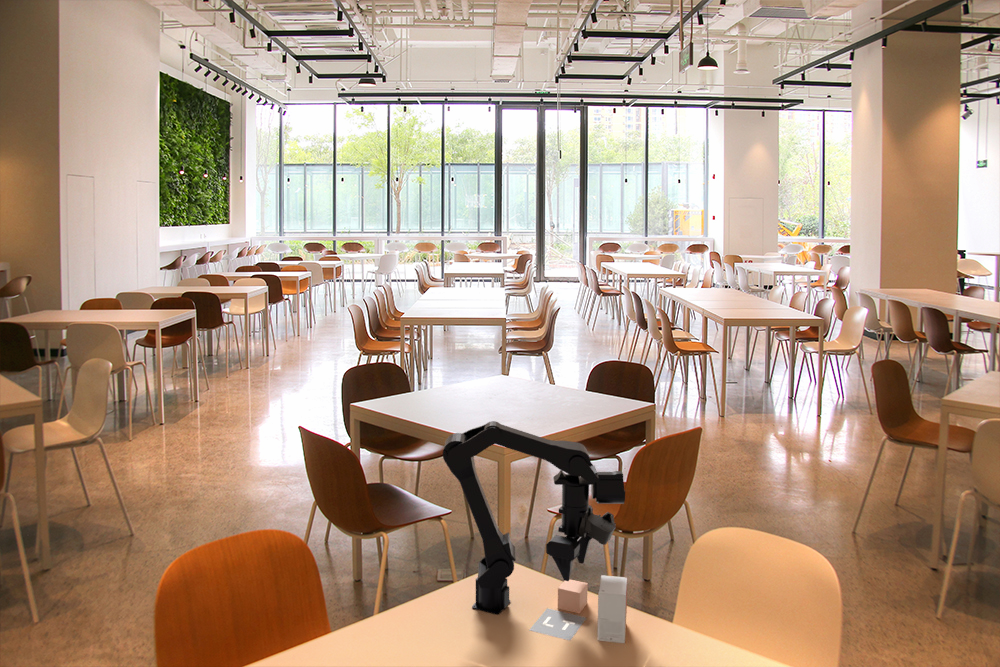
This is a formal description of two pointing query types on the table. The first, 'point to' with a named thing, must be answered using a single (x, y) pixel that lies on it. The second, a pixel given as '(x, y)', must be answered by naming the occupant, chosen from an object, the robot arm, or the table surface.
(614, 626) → the small box
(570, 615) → the tile
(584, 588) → the block
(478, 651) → the table surface
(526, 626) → the table surface
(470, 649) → the table surface
